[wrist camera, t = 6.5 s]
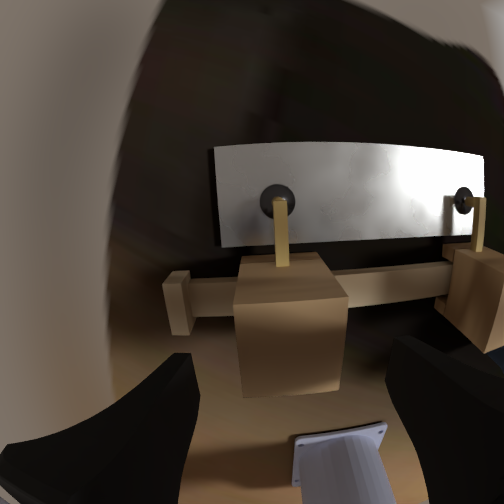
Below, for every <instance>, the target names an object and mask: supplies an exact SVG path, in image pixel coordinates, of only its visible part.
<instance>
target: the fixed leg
mask: <svg viewBox="0 0 504 504" xmlns="http://www.w3.org/2000/svg"><path fill="white" fill-rule="evenodd" d="M465 205H466V206H469V207H473V224H472V236H471V242H468V243H452V244H443V250H442V257H444V258H446V259H448V260H450V261H451V262H453V270H452V277H451V283H450V289H449V294H448V295H445V296H439V297H436V300H435V305H434V308H435V309H436V310H437V311H438V312H439V313H441V314H442V315H444V317H445V318H446V319H447V320H449V321H450V322H451V323H452V324H453V325H454V326H455V327H456V328H457V329H458V330H460V331H461V332H462V333H463V334H464V335H465V336H466V337H467V338H468V339H469V340H470V341H471V342H472V343H474V344H475V345H476V346H477V347H478V348H479V349H480V350H481V351H482V352H483V353H486V352H489V351H492V350H494V349H497V348H499V347H501V346H504V255H503V254H501V253H498V252H496V251H494V250H491V249H489V248H487V247H484V246H483V238H484V227H485V213H486V198H484V197H476V196H474V198H473V197H466V198H465Z"/></svg>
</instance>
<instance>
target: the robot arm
mask: <svg viewBox="0 0 504 504" xmlns="http://www.w3.org/2000/svg"><path fill="white" fill-rule="evenodd" d="M385 383H386V386H387V389H388V392H389V395H390V398H391V400H392V403H393V405H394V407H395V409H396V411H397V413H398V415H399V417H400V419H401V421H402V423H403V425H404V427H405V429H406V431H407V433H408V435H409V437H410V439H411V441H412V443H413V445H414V447H415V450H416V452H417V455H418V458H419V461H420V465H421V468H422V471H423V475H424V479H425V483H426V487H427V492H428V497H429V503H430V504H504V378H500V377H497V376H494V375H491V374H488V373H486V372H483V371H480V370H478V369H475V368H473V367H471V366H469V365H467V364H464V363H462V362H460V361H458V360H456V359H454V358H452V357H450V356H448V355H446V354H445V353H443V352H441V351H439V350H437V349H435V348H433V347H431V346H430V345H428V344H426V343H424V342H422V341H420V340H418V339H416V338H414V337H412V336H409V335H406V336H400V337H395V338H394V341H393V346H392V351H391V355H390V360H389V365H388V369H387V373H386V377H385ZM199 402H200V392H199V388H198V383H197V379H196V375H195V370H194V365H193V361H192V356H191V353H174V354H172V355H171V356H170V357H169V358H168V359H167V360H166V361H165V362H163V363H162V364H161V365H160V366H159V367H158V368H157V369H156V370H155V371H154V372H152V373H151V374H150V375H149V376H148V377H147V378H146V379H144V380H143V381H142V382H141V383H140V384H139V385H137V386H136V387H135V388H134V389H132V390H131V391H130V392H128V393H127V394H126V395H125V396H123V397H122V398H121V399H119V400H118V401H117V402H115V403H114V404H112V405H111V406H109V407H108V408H106V409H104V410H103V411H101V412H99V413H98V414H96V415H94V416H93V417H91V418H89V419H87V420H85V421H82V422H80V423H78V424H76V425H74V426H72V427H70V428H68V429H65V430H62V431H60V432H57V433H55V434H51V435H48V436H45V437H41V438H38V439H34V440H29V441H24V442H19V443H13V444H7V445H6V447H5V448H4V450H3V451H2V452H1V454H0V485H1V486H2V487H3V488H4V489H5V490H6V491H7V492H8V493H9V494H10V495H11V496H12V497H14V498H15V499H16V500H17V501H18V502H19V503H20V504H178V497H179V490H180V483H181V476H182V472H183V468H184V464H185V460H186V457H187V453H188V450H189V446H190V443H191V439H192V436H193V432H194V429H195V425H196V421H197V417H198V410H199ZM386 429H387V424H386V423H385V422H381V423H377V424H373V425H368V426H363V427H358V428H353V429H347V430H342V431H335V432H329V433H321V434H313V435H305V436H299V437H297V438H296V439H295V446H294V460H293V472H292V486H295V487H297V486H301V493H302V502H303V504H396V501H395V498H394V495H393V492H392V489H391V486H390V483H389V480H388V477H387V475H386V472H385V469H384V466H383V463H382V460H381V458H380V455H379V452H378V448H379V446H380V443H381V441H382V439H383V436H384V434H385V431H386ZM0 504H9V503H8V502H7V501H5V500H4V499H3V498H1V497H0Z"/></svg>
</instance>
